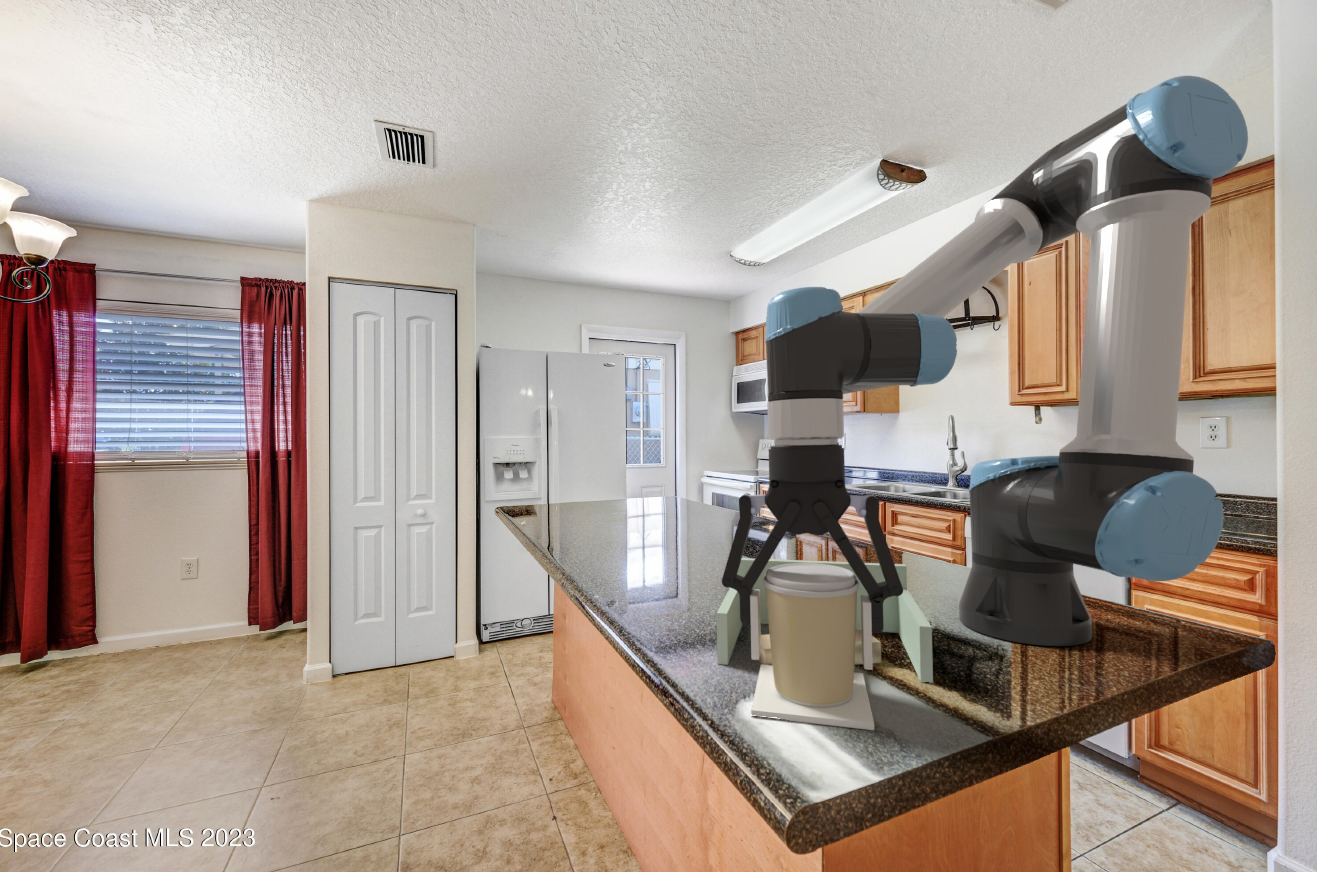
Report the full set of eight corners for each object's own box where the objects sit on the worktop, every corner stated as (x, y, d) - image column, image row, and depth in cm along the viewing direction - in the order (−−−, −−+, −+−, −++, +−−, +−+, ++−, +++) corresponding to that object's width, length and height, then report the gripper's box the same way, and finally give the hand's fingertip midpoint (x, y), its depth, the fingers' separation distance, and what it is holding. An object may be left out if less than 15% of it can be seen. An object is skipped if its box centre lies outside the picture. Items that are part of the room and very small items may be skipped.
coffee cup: (822, 664, 62) (819, 558, 62) (882, 700, 54) (879, 577, 54) (749, 679, 59) (747, 567, 59) (801, 720, 50) (798, 589, 50)
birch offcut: (863, 652, 69) (862, 628, 69) (881, 667, 64) (880, 641, 65) (754, 659, 68) (753, 635, 68) (765, 675, 63) (764, 648, 63)
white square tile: (862, 678, 60) (862, 673, 60) (874, 730, 50) (874, 723, 50) (761, 669, 63) (760, 664, 63) (751, 716, 52) (751, 709, 53)
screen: (906, 630, 75) (904, 564, 75) (933, 683, 59) (931, 598, 59) (735, 618, 81) (734, 557, 81) (717, 663, 65) (716, 587, 65)
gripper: (919, 440, 57) (924, 654, 57) (703, 444, 63) (707, 637, 63) (935, 441, 50) (941, 686, 50) (689, 445, 56) (693, 663, 56)
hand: (810, 659), depth 56 cm, fingers open, 10 cm apart
